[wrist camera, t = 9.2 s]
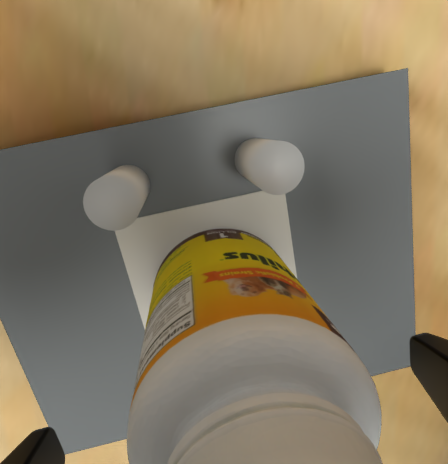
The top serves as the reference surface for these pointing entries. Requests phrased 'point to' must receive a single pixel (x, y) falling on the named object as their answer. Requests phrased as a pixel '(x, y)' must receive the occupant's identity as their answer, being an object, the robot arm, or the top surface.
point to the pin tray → (197, 219)
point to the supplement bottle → (245, 365)
